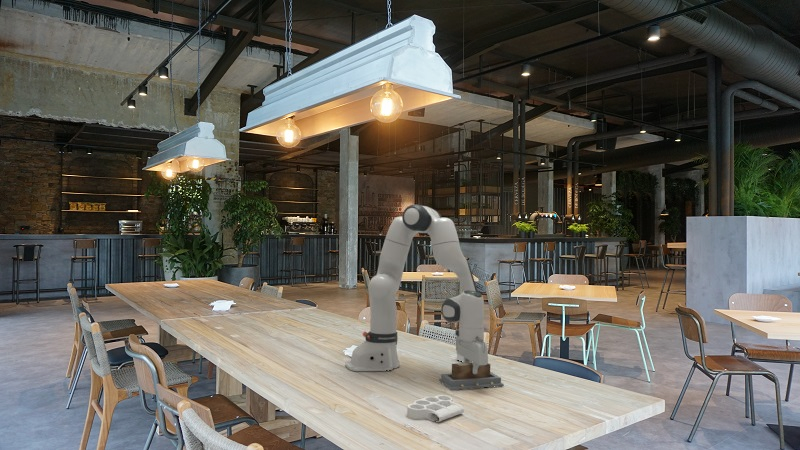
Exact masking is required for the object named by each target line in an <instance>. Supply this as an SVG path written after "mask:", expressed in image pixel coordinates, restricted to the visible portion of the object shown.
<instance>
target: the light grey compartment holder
mask: <svg viewBox="0 0 800 450" xmlns="http://www.w3.org/2000/svg"><path fill="white" fill-rule="evenodd" d="M463 413H465V409H464V407H463V406H462V405H461V404H459V403H457V402H454V401H453V398H452V397H451V396H450V395H445V394H438V395H435V396H434V395H433V396H425V397H423V398H421V399H419V398H418V399H415V400H414V401H413V402H412V403H409V404H407V409H406V416H407V417H408V418H409V419H413V420H429V421H431V422H433V421H436V422H435V423H441V422H442V421H445V420H448V419H450V418H453V417H455V416H458V415H461V414H463ZM438 418H439V419H438ZM436 419H437V420H436Z"/></svg>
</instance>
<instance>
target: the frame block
mask: <svg viewBox="0 0 800 450" xmlns="http://www.w3.org/2000/svg"><path fill="white" fill-rule="evenodd" d="M471 368H473V362H470V363H464V362H458V363H451V374H452V378H454V379H455V380H459V379H473V378H487V377H490V372H491V363H489V362H488V363H487V365H479V367H478V371H477V374H473V373H472V372H471V371H472V370H471Z"/></svg>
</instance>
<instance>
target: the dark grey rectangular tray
mask: <svg viewBox="0 0 800 450" xmlns="http://www.w3.org/2000/svg"><path fill="white" fill-rule="evenodd" d="M440 376H441V378H438V382H439V381H440V382H441V383H440V382H439V383H440V384H442V383H443V384H444V385H445V386H444V385H443V384H442V385H443V386H444V387H446V386H447V387H448V388H450V389H451V390H456V391H460V390H459V389H469V390H472V389H471V388H482V389H485V388H484V387H494V386H504V387H505V384H504V382H502V378H501V376H498V375H496V374H495V373H493V372H491V371H490V377H487V378H473V379H459V380H455V379H454V378H452V373H442V374H440ZM447 387H446V388H447ZM448 388H447V389H448ZM494 388H495V387H494ZM450 389H449V390H450ZM451 390H450V391H451Z"/></svg>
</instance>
